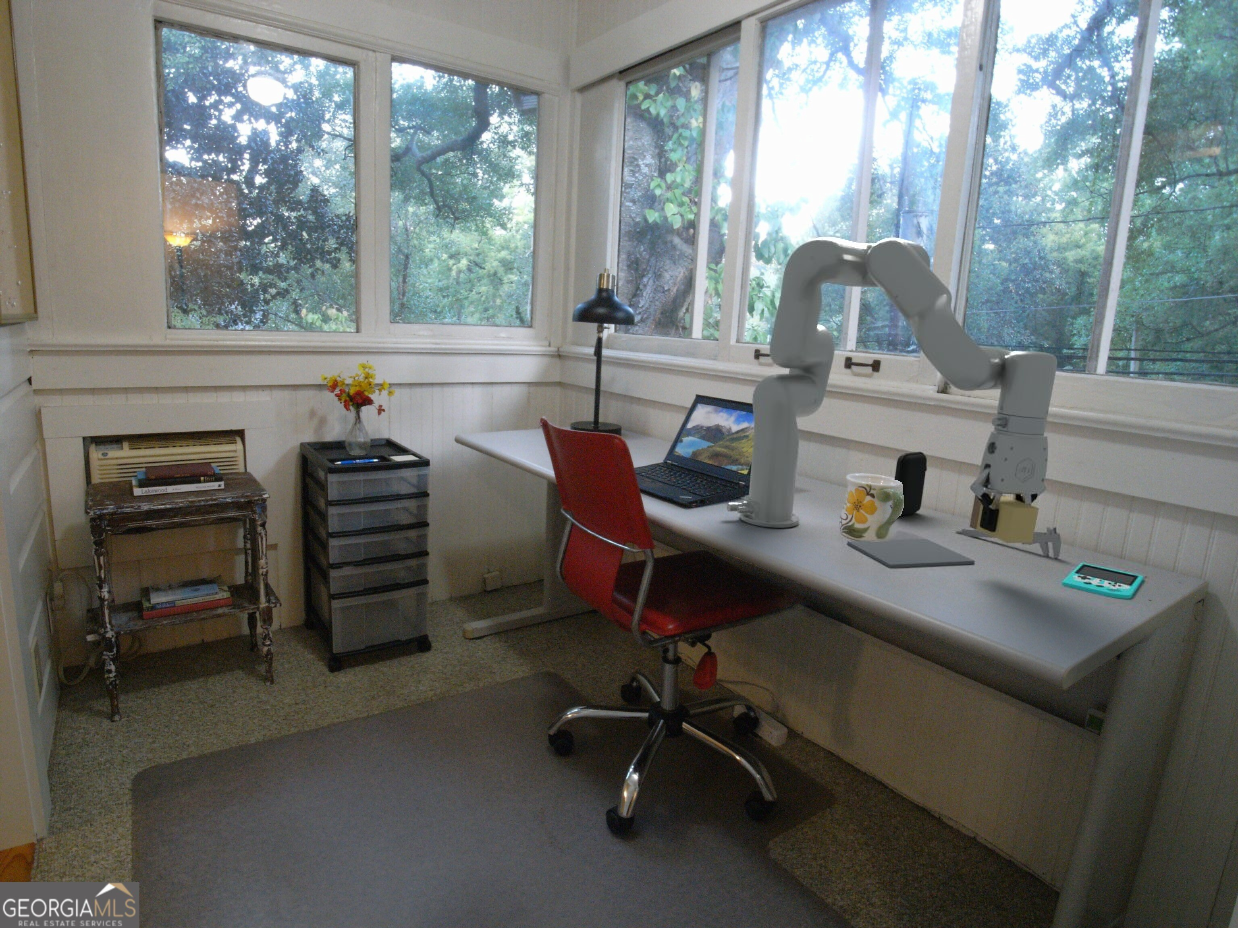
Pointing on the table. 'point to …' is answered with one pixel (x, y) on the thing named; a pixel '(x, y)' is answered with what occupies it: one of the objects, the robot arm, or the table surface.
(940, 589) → the table surface
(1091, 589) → the handheld game console
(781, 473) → the robot arm
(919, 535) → the table surface
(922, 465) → the carrying case or bag
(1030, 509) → the card box
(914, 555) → the desk mat
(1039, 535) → the caliper
